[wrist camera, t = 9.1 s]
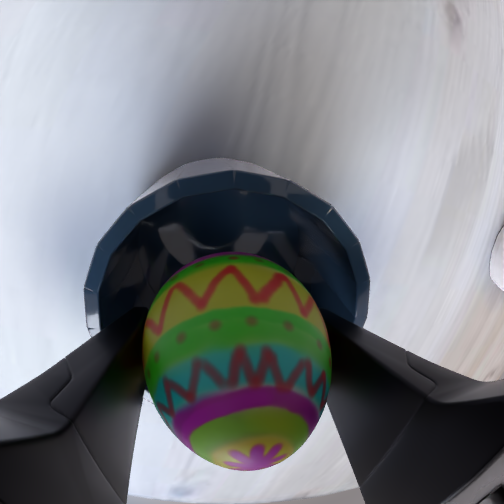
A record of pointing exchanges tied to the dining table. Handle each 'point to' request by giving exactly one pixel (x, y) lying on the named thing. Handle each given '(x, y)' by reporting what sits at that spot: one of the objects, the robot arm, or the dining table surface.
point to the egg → (237, 360)
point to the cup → (225, 239)
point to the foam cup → (498, 261)
